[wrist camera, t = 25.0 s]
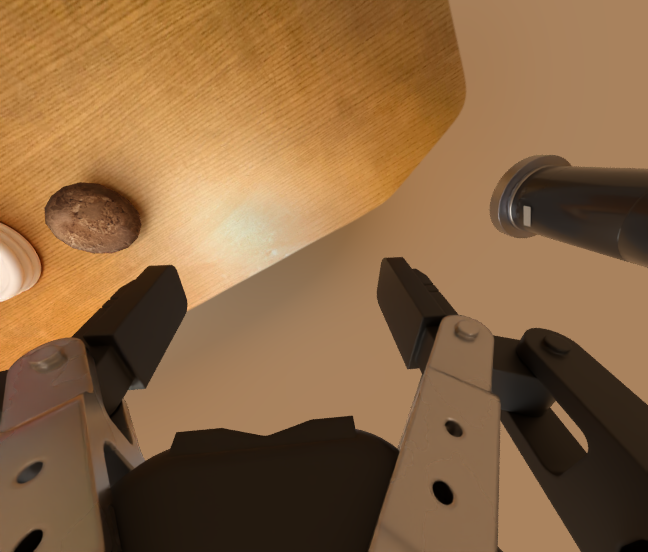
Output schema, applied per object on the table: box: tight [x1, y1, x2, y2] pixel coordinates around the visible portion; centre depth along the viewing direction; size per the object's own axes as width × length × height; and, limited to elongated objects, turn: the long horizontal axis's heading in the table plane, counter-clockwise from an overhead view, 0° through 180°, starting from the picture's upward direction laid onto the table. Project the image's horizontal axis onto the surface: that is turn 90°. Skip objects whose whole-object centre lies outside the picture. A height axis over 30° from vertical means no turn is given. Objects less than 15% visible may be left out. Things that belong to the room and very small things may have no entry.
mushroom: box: [45, 182, 141, 253], centre depth 29 cm, size 8×8×6 cm
